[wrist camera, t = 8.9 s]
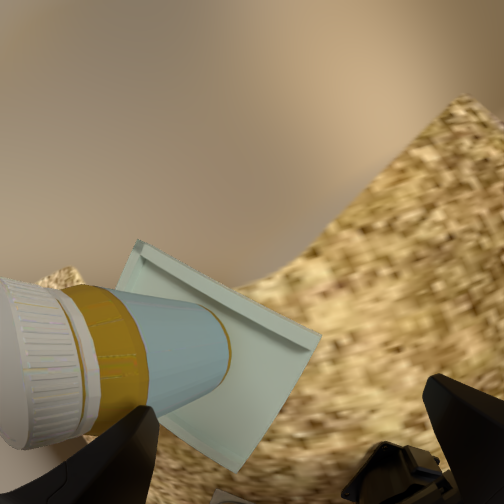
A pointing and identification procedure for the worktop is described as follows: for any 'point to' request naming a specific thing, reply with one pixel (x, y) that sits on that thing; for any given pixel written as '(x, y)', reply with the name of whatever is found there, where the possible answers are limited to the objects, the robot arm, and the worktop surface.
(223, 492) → the condiment
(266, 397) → the tray
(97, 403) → the bottle
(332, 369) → the worktop surface
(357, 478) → the robot arm
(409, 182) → the worktop surface
